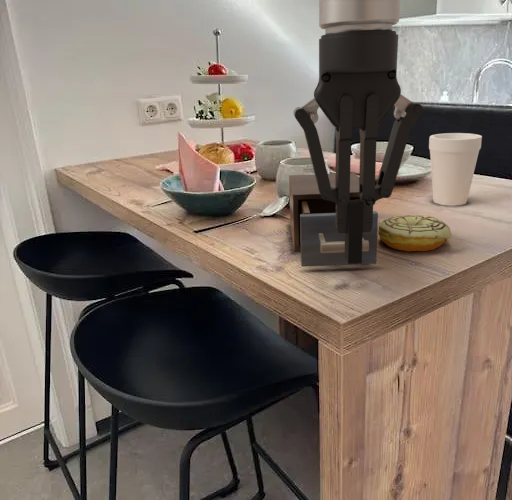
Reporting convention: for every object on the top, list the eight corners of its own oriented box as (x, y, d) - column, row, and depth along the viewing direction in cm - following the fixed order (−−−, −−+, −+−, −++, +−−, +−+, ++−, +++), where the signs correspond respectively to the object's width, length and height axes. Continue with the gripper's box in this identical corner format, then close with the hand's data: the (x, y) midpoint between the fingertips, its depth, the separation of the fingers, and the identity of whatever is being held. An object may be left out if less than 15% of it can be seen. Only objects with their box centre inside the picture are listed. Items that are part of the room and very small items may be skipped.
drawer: (385, 280, 64) (387, 225, 62) (304, 283, 64) (303, 229, 62) (359, 233, 82) (360, 190, 80) (296, 236, 82) (295, 193, 80)
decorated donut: (464, 247, 76) (466, 223, 75) (406, 259, 73) (408, 235, 72) (419, 229, 86) (421, 207, 84) (366, 239, 82) (366, 217, 81)
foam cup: (470, 209, 95) (477, 140, 91) (421, 205, 100) (425, 139, 95) (477, 197, 103) (484, 133, 98) (431, 194, 107) (435, 132, 103)
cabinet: (368, 248, 78) (370, 191, 75) (294, 251, 78) (292, 194, 75) (353, 221, 92) (354, 172, 88) (290, 224, 92) (289, 175, 89)
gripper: (415, 30, 51) (402, 246, 59) (288, 36, 52) (293, 249, 60) (439, 23, 44) (421, 270, 52) (292, 31, 45) (296, 274, 53)
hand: (352, 259), depth 56 cm, fingers closed
